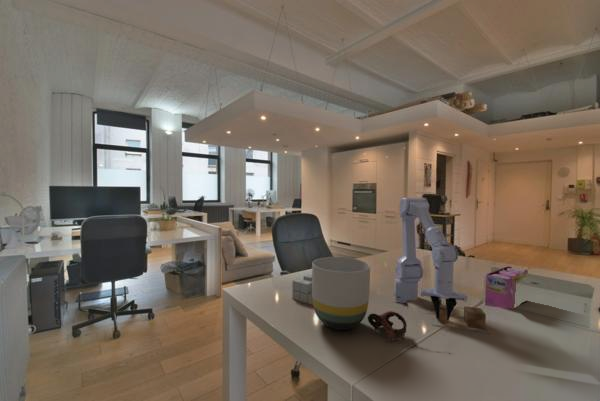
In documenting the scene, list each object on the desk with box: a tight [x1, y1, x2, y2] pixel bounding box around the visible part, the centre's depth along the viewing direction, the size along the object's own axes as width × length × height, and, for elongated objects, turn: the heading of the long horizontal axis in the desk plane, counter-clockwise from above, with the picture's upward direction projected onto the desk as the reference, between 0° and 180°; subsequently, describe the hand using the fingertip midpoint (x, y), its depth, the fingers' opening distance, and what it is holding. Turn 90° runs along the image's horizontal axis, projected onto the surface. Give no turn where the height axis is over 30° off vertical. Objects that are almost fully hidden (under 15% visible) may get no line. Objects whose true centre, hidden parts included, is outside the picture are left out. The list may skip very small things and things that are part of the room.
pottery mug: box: [367, 310, 407, 342], centre depth 88 cm, size 12×10×8 cm
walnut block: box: [463, 305, 487, 329], centre depth 92 cm, size 5×5×5 cm
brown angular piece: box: [437, 306, 487, 332], centre depth 94 cm, size 14×8×5 cm, turn 73°
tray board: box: [422, 302, 491, 335], centre depth 98 cm, size 17×20×2 cm
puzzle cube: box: [291, 273, 313, 306], centre depth 118 cm, size 12×12×8 cm
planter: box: [311, 256, 371, 331], centre depth 93 cm, size 20×20×21 cm
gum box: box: [484, 265, 529, 310], centre depth 115 cm, size 24×8×14 cm, turn 124°
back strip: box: [431, 298, 464, 317], centre depth 103 cm, size 14×8×5 cm, turn 73°
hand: (442, 318), depth 95 cm, fingers closed on brown angular piece, 2 cm apart
